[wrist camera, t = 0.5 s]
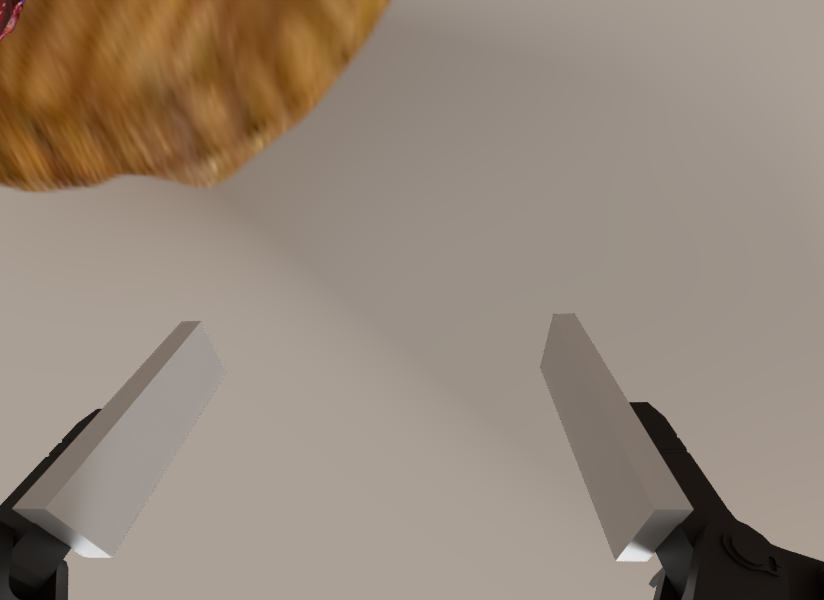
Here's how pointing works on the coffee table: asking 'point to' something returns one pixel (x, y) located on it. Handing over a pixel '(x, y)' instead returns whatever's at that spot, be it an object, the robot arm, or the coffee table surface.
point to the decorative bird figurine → (9, 16)
